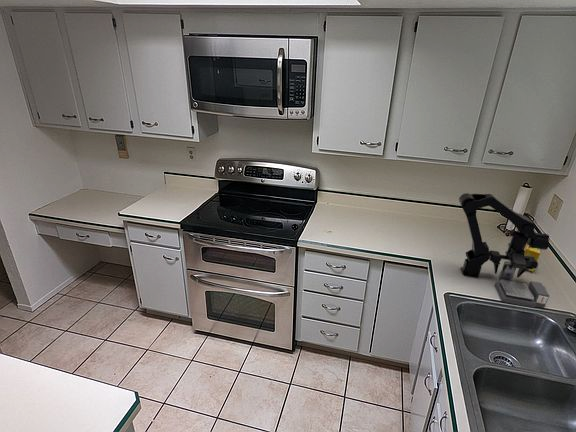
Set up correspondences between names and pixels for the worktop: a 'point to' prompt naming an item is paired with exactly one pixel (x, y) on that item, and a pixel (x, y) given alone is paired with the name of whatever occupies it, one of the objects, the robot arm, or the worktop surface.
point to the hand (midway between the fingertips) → (506, 275)
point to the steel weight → (507, 271)
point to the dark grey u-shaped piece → (536, 290)
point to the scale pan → (516, 289)
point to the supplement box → (532, 254)
